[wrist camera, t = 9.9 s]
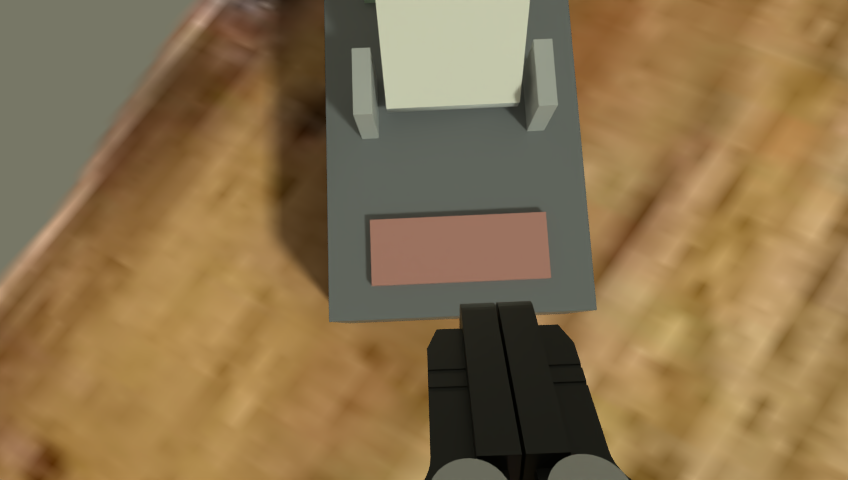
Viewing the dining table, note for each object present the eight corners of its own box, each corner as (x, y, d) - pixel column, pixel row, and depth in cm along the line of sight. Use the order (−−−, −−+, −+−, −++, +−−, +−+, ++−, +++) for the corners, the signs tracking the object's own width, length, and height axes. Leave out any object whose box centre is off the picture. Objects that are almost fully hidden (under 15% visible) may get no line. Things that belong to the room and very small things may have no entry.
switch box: (342, -6, 34) (310, -125, 25) (537, -16, 34) (574, -138, 25) (349, 323, 31) (315, 320, 22) (565, 313, 31) (618, 307, 22)
